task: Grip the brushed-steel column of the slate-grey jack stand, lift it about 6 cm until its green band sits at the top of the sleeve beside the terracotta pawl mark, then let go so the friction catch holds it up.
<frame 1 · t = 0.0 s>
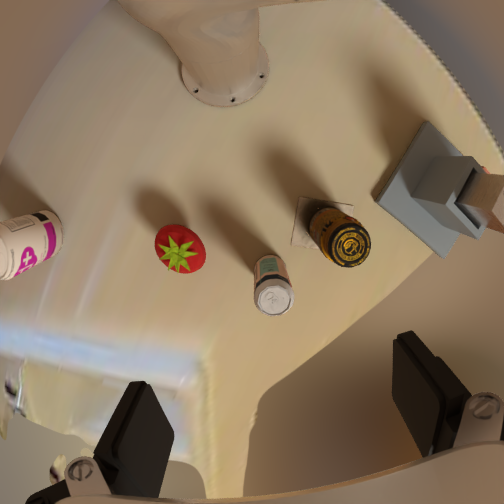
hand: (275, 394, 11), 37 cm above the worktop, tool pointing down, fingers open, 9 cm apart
condiment: (322, 225, 47), on the worktop
supplement can: (49, 232, 47), on the worktop
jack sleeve: (434, 190, 45), on the worktop
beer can: (270, 269, 48), on the worktop
strawberry: (188, 239, 47), on the worktop
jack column: (470, 197, 35), point 10 cm above the worktop, slide at 0.0 cm
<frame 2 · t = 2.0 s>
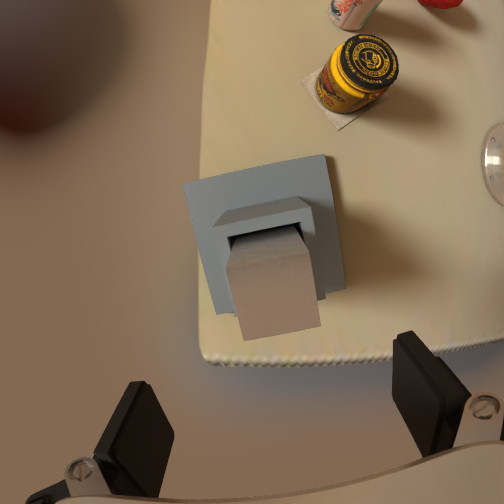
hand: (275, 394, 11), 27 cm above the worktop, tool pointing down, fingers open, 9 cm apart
condiment: (345, 88, 33), on the worktop
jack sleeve: (267, 235, 37), on the worktop
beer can: (345, 17, 30), on the worktop
strawberry: (421, 3, 28), on the worktop
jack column: (270, 259, 27), point 10 cm above the worktop, slide at 0.0 cm
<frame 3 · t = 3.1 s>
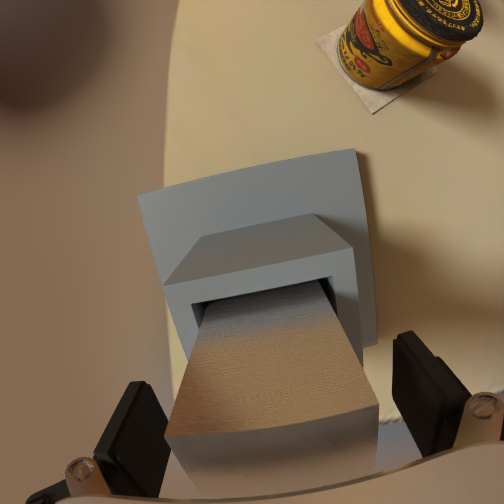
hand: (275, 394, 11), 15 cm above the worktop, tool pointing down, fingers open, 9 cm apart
condiment: (379, 55, 20), on the worktop
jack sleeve: (267, 271, 25), on the worktop
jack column: (273, 336, 15), point 10 cm above the worktop, slide at 0.0 cm
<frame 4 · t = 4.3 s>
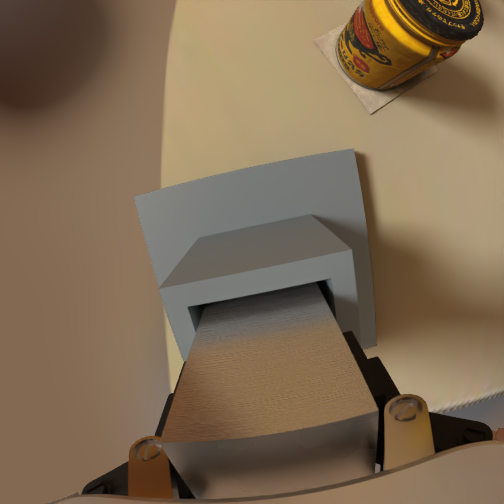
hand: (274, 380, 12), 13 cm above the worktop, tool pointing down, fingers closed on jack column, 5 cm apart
condiment: (378, 55, 20), on the worktop
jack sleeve: (265, 272, 25), on the worktop
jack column: (271, 338, 15), point 10 cm above the worktop, slide at 0.0 cm, touching gripper
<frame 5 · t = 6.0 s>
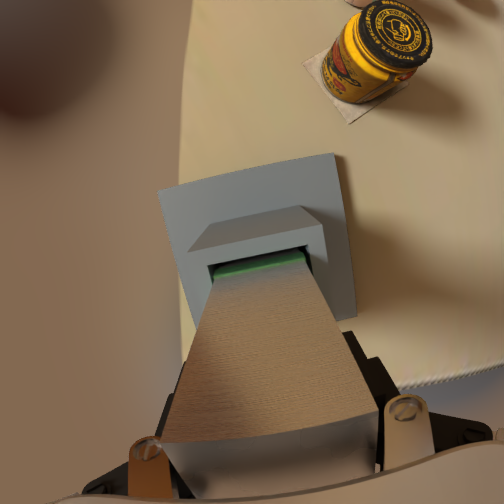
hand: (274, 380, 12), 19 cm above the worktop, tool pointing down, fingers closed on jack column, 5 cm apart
condiment: (357, 73, 26), on the worktop
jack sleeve: (263, 253, 30), on the worktop
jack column: (270, 338, 15), point 16 cm above the worktop, slide at 5.9 cm, touching gripper
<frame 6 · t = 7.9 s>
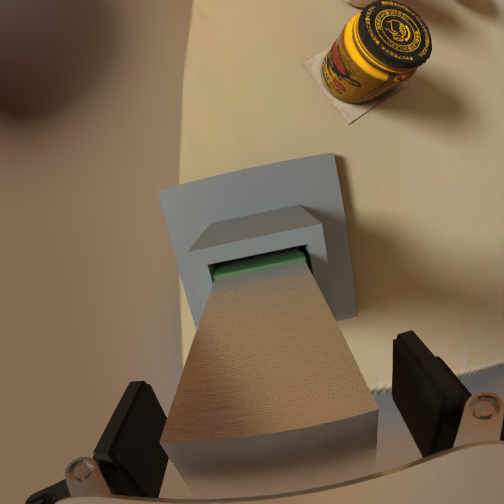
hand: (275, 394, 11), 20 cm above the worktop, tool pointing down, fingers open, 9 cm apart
condiment: (356, 73, 26), on the worktop
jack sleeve: (263, 252, 30), on the worktop
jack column: (270, 338, 15), point 16 cm above the worktop, slide at 6.0 cm
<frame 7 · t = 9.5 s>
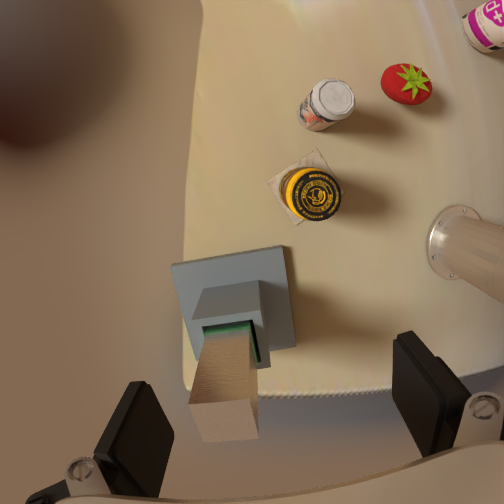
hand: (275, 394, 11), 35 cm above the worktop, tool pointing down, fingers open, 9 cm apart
condiment: (305, 186, 43), on the worktop
supplement can: (474, 34, 35), on the worktop
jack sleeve: (236, 305, 47), on the worktop
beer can: (313, 115, 41), on the worktop
strawberry: (390, 92, 39), on the worktop
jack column: (230, 367, 32), point 16 cm above the worktop, slide at 6.0 cm
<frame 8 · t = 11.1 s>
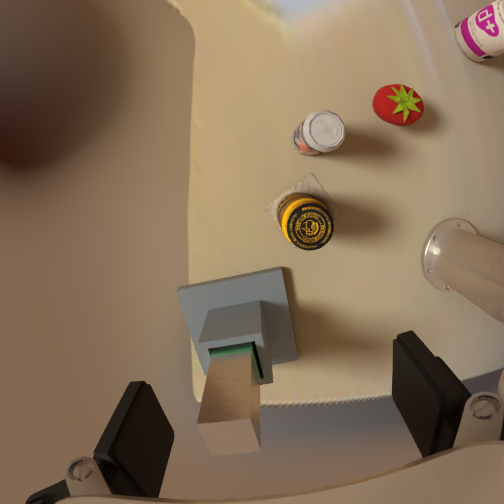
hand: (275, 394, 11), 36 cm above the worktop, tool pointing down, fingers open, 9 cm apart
condiment: (302, 210, 46), on the worktop
supplement can: (468, 43, 37), on the worktop
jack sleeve: (240, 323, 50), on the worktop
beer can: (307, 139, 43), on the worktop
strawberry: (383, 110, 41), on the worktop
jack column: (234, 386, 34), point 16 cm above the worktop, slide at 6.0 cm
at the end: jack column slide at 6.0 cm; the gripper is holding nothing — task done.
